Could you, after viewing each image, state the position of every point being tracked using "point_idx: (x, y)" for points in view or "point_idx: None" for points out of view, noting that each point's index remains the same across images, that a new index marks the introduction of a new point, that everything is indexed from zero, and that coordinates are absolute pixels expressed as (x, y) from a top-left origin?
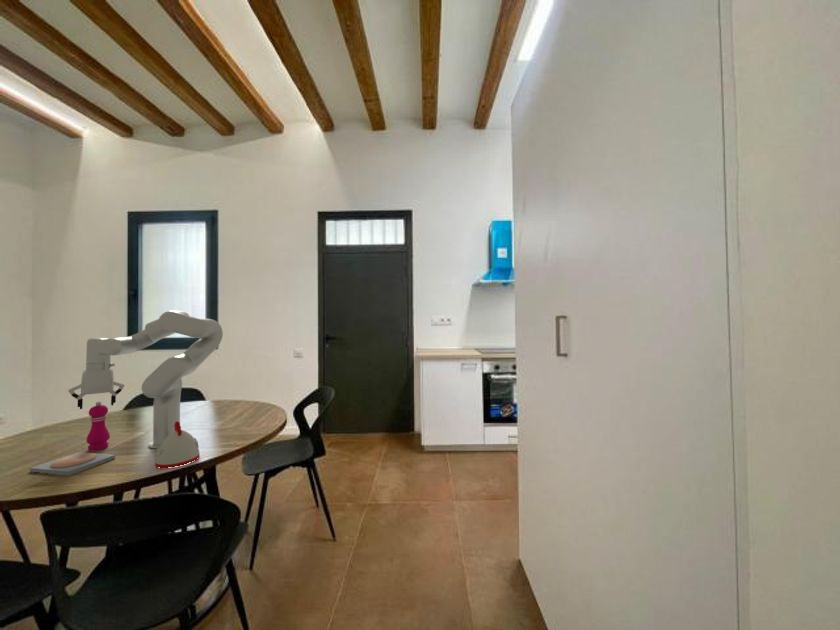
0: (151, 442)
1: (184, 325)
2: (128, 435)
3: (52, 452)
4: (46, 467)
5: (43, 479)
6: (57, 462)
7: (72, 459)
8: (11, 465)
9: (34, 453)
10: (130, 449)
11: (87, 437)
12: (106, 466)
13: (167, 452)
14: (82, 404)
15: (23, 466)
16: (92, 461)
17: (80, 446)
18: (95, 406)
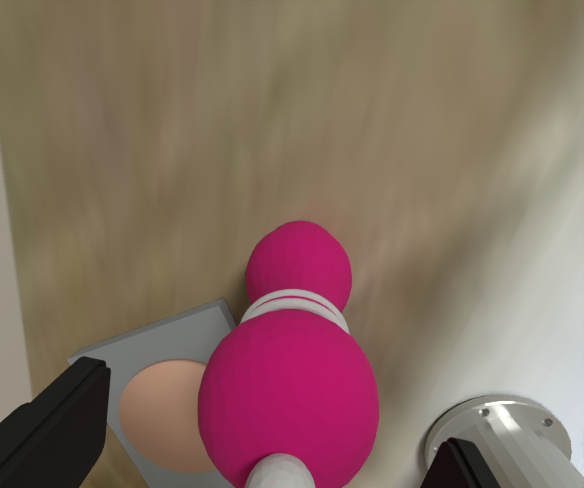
0: (452, 428)
1: None
2: (481, 130)
3: (146, 119)
4: (110, 405)
5: (112, 457)
6: (136, 404)
7: (179, 415)
8: (16, 187)
9: (80, 46)
10: None
11: (246, 284)
12: None
13: None
14: (74, 422)
15: (55, 251)
16: None
17: (255, 129)
18: (243, 476)
